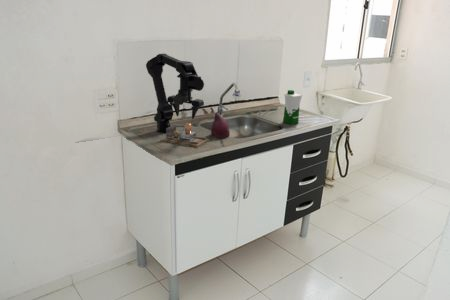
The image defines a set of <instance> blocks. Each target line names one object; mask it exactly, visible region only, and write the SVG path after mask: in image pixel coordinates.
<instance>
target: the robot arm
mask: <svg viewBox="0 0 450 300" xmlns="http://www.w3.org/2000/svg"><path fill="white" fill-rule="evenodd" d="M165 65H167V66H169V67H172V68H174V69H175V71H176V72H177V73H179V74H177V76H176V78H179V89H178V90H177V94H175V95H174V94H173V95H171V96H170V95H169V96H168V97H167V93H166V91H165V86H164V82H163V77H162V76H163V72H164V66H165ZM145 67H146V69H147V70H146V71H147V73H148V75H149V76H150V77H151V79H152V81H153V86H154V87H153V88H154V90H155V91H154V92H155V95H156V100H157V107H156V114H155V115H154V116H153V120H154V122H156V127H157V128H156V130H155V132H156V133H161V134H166V128H169V127H171V123H170V121H172V120H173V116H174V113H175V115H176V117H179V115H180V105H181V106H183V105H184V104H190V105H191V110H192V111H191V119H192V120H193V119H195V117H196V114H197V112H198V111H199V109H200V108H201V107H203V106H205V103H204V100H203V99H198V98H196V99H193V96H192V92H193V90H194V91H197V92H198V91H199V92H200V91H202V90H203V89H204V87H205V82H204V80H203V79H202V76H199V75H198V72H197V71H196V68H195V67H194V63H193V62H191V61H189V60H188V61H187V60H180V59H177V58H175V57H174V56H170V55H169V54H166V53H158V54H156V55H155V56H153V57H152V58H150V59H149V60H148V61H147V62H146V63H145Z"/></svg>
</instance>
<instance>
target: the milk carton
mask: <svg viewBox="0 0 450 300" xmlns="http://www.w3.org/2000/svg"><path fill="white" fill-rule="evenodd" d="M302 96H303V95H302V94H299V93H295V90H293V89H289V90H288V89H287V93H285V94H284V111H283V119H282V123H284V124H287V125H288V124H289V125H291V126H292V125H295V124H298V123H299V121H300V120H299V117H300V106H301V105H300V104H301V101H302Z"/></svg>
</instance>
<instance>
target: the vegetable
mask: <svg viewBox="0 0 450 300" xmlns="http://www.w3.org/2000/svg"><path fill="white" fill-rule="evenodd" d="M210 129H211V130H210V134H211V135H210V136H211V137H212V138H215V139H227V138H230V135H231V134H230V127H229V124H228V122H227V121H226V119H225V118H224V117H223V116H221V114H220V113H218V112H217V111H215V115H214V119H213V122H212V125H211V128H210Z"/></svg>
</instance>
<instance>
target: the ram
mask: <svg viewBox="0 0 450 300" xmlns="http://www.w3.org/2000/svg"><path fill="white" fill-rule="evenodd" d="M184 125H185V126H184V127H185V128H184V130H182V131H179V132H180V133H179V139H182V140H188V141H192V140H194V139H196V136H197V132H194V131H192V123H191V122H186V123H185V124H184Z"/></svg>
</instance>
